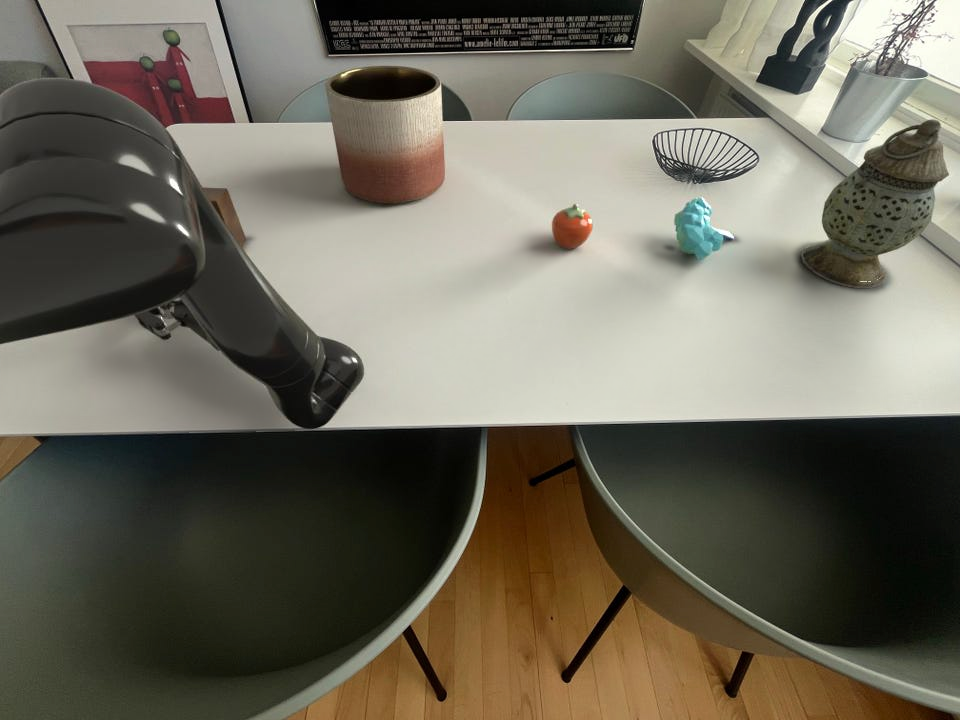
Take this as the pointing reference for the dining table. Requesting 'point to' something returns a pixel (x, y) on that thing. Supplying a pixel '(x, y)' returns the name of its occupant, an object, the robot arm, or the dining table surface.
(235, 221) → the block far
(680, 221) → the turquoise faceted lumpy piece
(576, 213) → the tomato
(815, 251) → the lantern
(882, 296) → the dining table surface
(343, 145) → the planter
